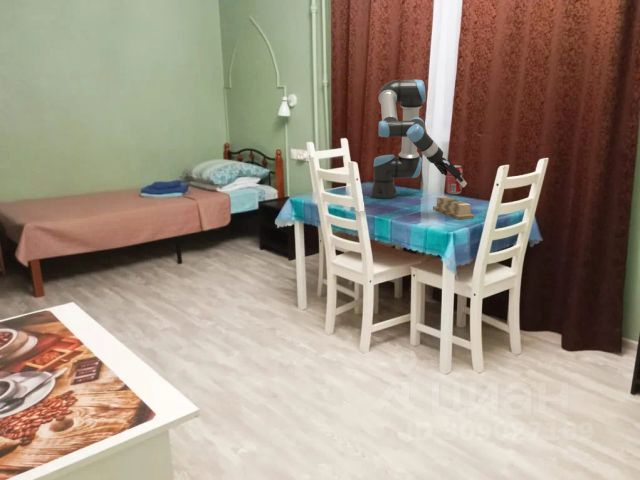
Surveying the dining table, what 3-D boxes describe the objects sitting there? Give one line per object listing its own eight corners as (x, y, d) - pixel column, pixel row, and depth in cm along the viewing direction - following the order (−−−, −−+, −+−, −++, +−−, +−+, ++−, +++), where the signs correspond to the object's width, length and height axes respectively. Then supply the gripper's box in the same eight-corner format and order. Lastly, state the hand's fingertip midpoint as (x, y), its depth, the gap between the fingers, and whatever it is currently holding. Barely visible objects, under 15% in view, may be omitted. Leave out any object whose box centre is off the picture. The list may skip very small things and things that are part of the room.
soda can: (462, 194, 245) (463, 167, 241) (446, 194, 246) (447, 167, 242) (460, 191, 251) (462, 165, 248) (445, 191, 253) (446, 165, 249)
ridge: (432, 209, 262) (433, 196, 260) (446, 208, 264) (447, 195, 262) (459, 219, 240) (459, 206, 238) (473, 218, 242) (474, 204, 240)
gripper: (416, 155, 249) (444, 186, 258) (438, 160, 230) (467, 193, 239) (426, 144, 249) (454, 175, 258) (449, 147, 230) (477, 181, 240)
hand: (460, 184), depth 249 cm, fingers closed on soda can, 7 cm apart
